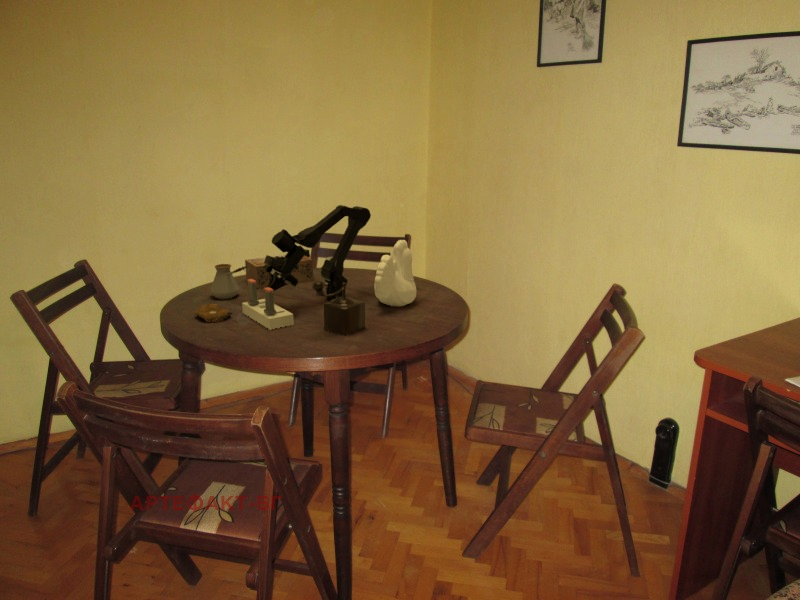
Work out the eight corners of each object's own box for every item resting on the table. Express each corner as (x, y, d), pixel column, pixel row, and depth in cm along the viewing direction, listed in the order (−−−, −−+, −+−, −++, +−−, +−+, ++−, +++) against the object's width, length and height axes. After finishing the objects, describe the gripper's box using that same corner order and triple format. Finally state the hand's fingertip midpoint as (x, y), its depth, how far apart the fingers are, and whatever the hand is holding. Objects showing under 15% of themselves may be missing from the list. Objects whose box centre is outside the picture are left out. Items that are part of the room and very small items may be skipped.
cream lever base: (265, 308, 230) (264, 297, 229) (293, 324, 213) (293, 313, 212) (242, 313, 225) (242, 302, 224) (269, 330, 208) (269, 318, 206)
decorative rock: (187, 317, 222) (208, 328, 213) (186, 306, 221) (207, 317, 211) (215, 308, 230) (237, 319, 220) (214, 298, 229) (236, 308, 219)
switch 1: (255, 301, 224) (253, 278, 222) (259, 303, 221) (257, 280, 219) (247, 302, 222) (245, 279, 220) (251, 305, 220) (250, 282, 217)
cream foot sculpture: (393, 294, 250) (394, 234, 242) (425, 301, 241) (426, 239, 233) (353, 309, 231) (352, 244, 223) (385, 317, 221) (385, 250, 214)
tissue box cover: (300, 274, 282) (300, 253, 279) (313, 281, 270) (312, 259, 267) (246, 281, 269) (244, 259, 266) (257, 289, 257) (255, 266, 254)
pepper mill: (342, 321, 217) (341, 272, 212) (366, 327, 211) (365, 277, 205) (311, 333, 205) (309, 281, 200) (335, 340, 199) (334, 287, 194)
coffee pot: (204, 297, 245) (201, 260, 240) (228, 291, 253) (226, 255, 249) (237, 307, 232) (234, 269, 228) (261, 300, 240) (259, 263, 236)
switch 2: (271, 310, 213) (270, 286, 211) (276, 313, 211) (275, 289, 208) (263, 312, 212) (262, 288, 209) (268, 315, 209) (267, 290, 206)
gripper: (265, 242, 229) (240, 275, 226) (288, 251, 215) (261, 286, 212) (286, 259, 236) (261, 292, 233) (309, 269, 222) (284, 303, 219)
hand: (266, 293), depth 224 cm, fingers closed
